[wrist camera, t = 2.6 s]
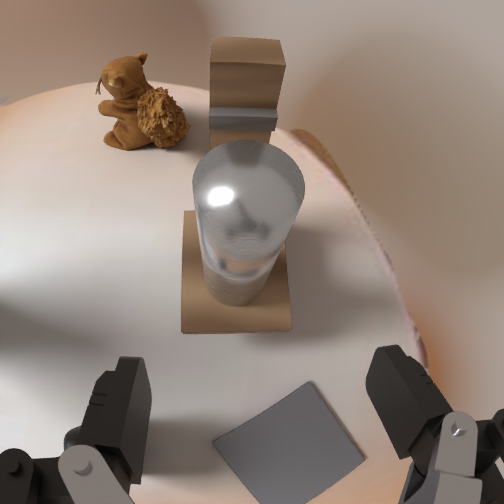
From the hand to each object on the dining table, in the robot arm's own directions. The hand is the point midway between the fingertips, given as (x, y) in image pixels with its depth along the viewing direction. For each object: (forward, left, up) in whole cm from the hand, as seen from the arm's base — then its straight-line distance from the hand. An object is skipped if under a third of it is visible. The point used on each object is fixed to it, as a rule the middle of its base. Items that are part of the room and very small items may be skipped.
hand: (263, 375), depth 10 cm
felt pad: (0, -11, -23) cm, 25 cm away
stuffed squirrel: (+6, +34, -23) cm, 41 cm away
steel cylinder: (+4, +7, -15) cm, 17 cm away
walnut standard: (+6, +10, -23) cm, 25 cm away
